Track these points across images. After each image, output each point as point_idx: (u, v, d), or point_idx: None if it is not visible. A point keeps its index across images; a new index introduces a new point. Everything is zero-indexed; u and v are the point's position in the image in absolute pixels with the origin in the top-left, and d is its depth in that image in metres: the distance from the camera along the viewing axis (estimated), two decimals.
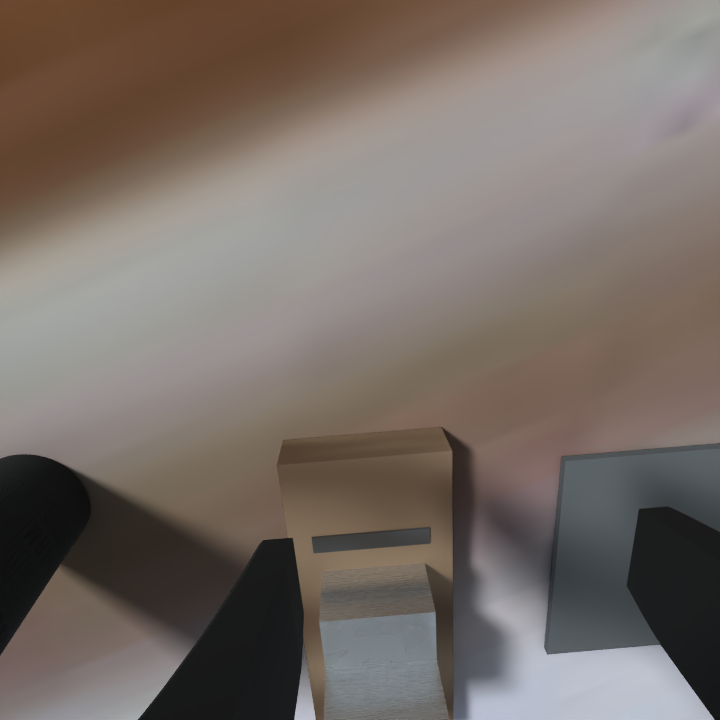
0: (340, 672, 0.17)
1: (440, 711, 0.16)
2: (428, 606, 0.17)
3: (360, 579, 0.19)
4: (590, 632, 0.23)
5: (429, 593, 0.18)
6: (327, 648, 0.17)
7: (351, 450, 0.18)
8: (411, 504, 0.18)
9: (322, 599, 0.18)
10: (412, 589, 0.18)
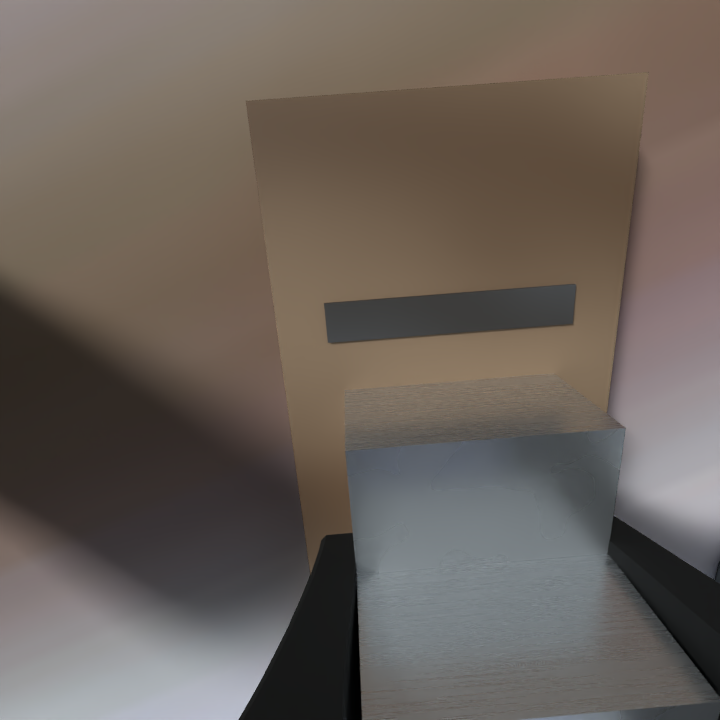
0: (392, 580, 0.08)
1: (671, 660, 0.06)
2: (601, 421, 0.07)
3: (427, 395, 0.09)
4: None
5: (591, 405, 0.08)
6: (362, 523, 0.07)
7: None
8: (542, 222, 0.08)
9: (349, 421, 0.08)
10: (549, 402, 0.08)
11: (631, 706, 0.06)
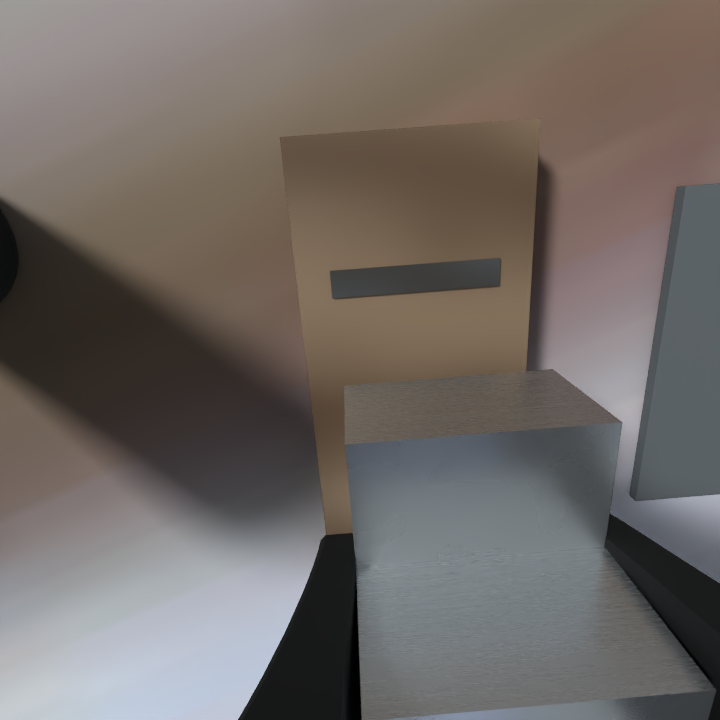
0: (391, 573, 0.08)
1: (666, 650, 0.06)
2: (598, 416, 0.07)
3: (426, 390, 0.09)
4: (694, 468, 0.18)
5: (589, 400, 0.08)
6: (362, 516, 0.08)
7: None
8: (475, 215, 0.13)
9: (349, 415, 0.08)
10: (546, 397, 0.08)
11: (626, 694, 0.06)
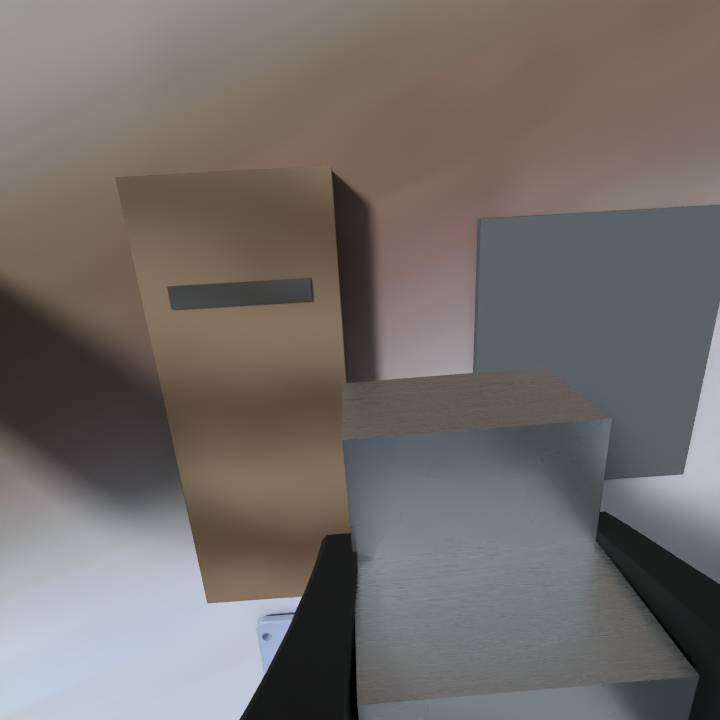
0: (387, 565, 0.08)
1: (652, 638, 0.06)
2: (589, 412, 0.08)
3: (422, 388, 0.09)
4: None
5: (580, 397, 0.08)
6: (359, 510, 0.08)
7: None
8: (286, 243, 0.15)
9: (346, 412, 0.08)
10: (539, 394, 0.08)
11: (612, 680, 0.06)
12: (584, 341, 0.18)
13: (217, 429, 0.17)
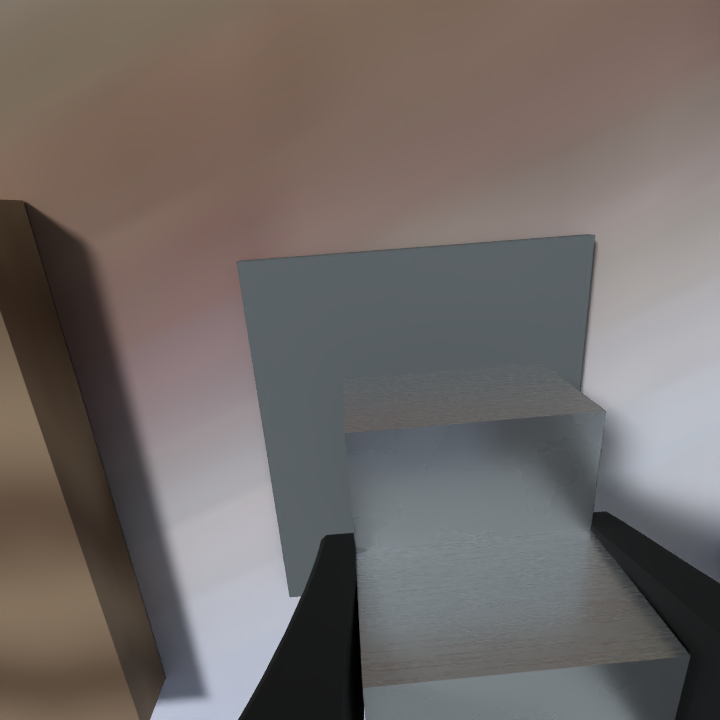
0: (388, 556, 0.08)
1: (645, 621, 0.07)
2: (584, 405, 0.08)
3: (422, 383, 0.09)
4: None
5: (575, 391, 0.08)
6: (361, 501, 0.08)
7: None
8: None
9: (348, 406, 0.08)
10: (535, 388, 0.09)
11: (608, 661, 0.06)
12: None
13: None
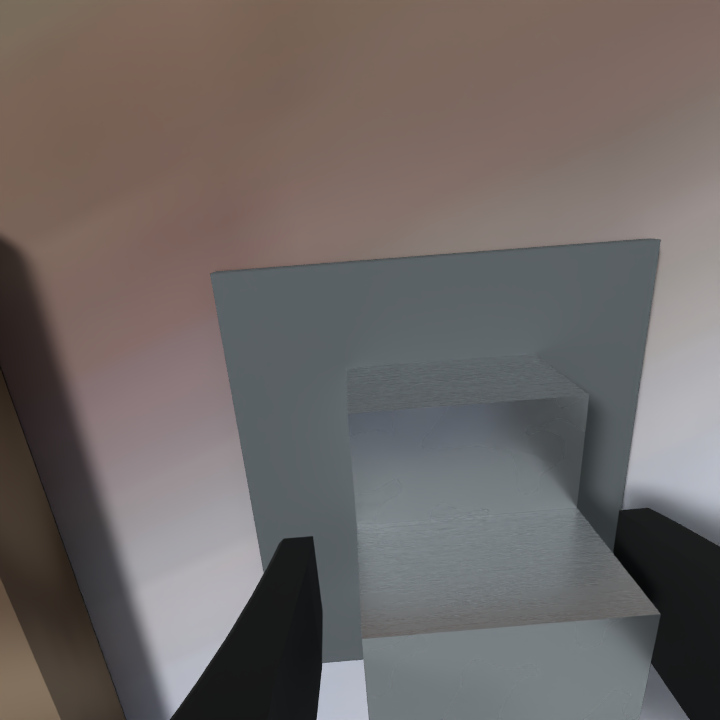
0: (387, 529, 0.09)
1: (621, 586, 0.07)
2: (569, 390, 0.08)
3: (420, 371, 0.10)
4: (347, 627, 0.13)
5: (563, 378, 0.09)
6: (362, 478, 0.09)
7: None
8: None
9: (350, 391, 0.09)
10: (526, 376, 0.09)
11: (585, 618, 0.07)
12: None
13: None
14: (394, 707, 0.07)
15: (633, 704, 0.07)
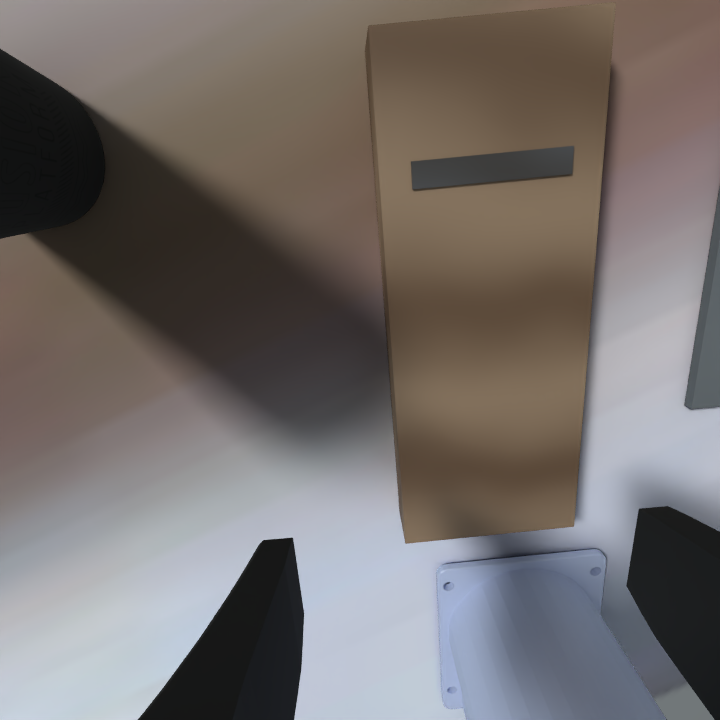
0: None
1: None
2: None
3: None
4: None
5: None
6: None
7: None
8: (551, 103, 0.13)
9: None
10: None
11: None
12: None
13: (443, 336, 0.15)
14: None
15: None
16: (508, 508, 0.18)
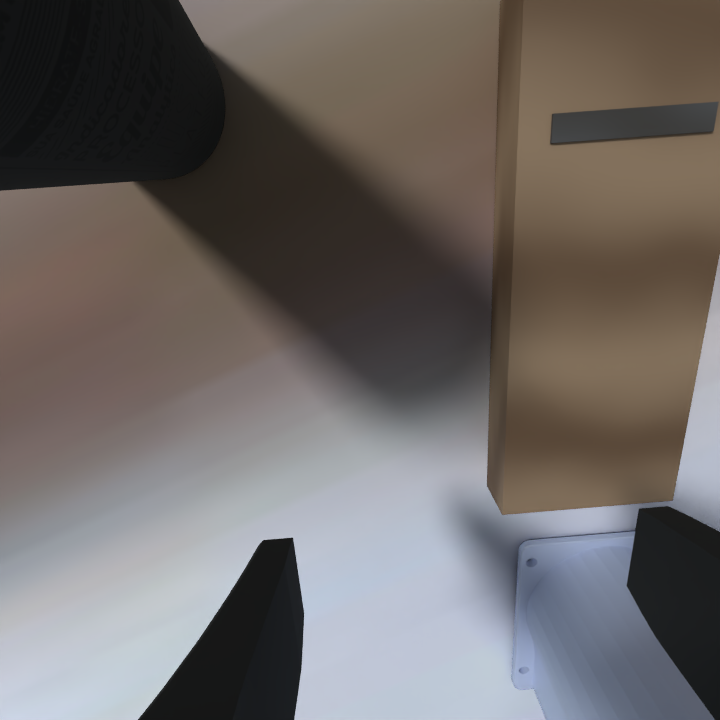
0: None
1: None
2: None
3: None
4: None
5: None
6: None
7: None
8: (699, 56, 0.13)
9: None
10: None
11: None
12: None
13: (563, 299, 0.15)
14: None
15: None
16: (609, 480, 0.17)
